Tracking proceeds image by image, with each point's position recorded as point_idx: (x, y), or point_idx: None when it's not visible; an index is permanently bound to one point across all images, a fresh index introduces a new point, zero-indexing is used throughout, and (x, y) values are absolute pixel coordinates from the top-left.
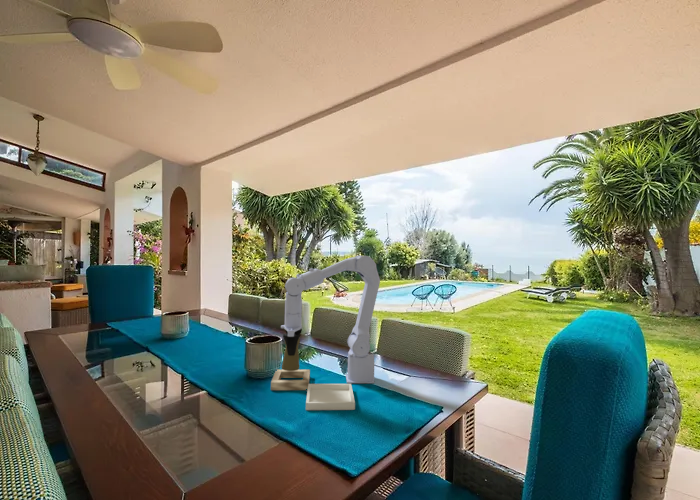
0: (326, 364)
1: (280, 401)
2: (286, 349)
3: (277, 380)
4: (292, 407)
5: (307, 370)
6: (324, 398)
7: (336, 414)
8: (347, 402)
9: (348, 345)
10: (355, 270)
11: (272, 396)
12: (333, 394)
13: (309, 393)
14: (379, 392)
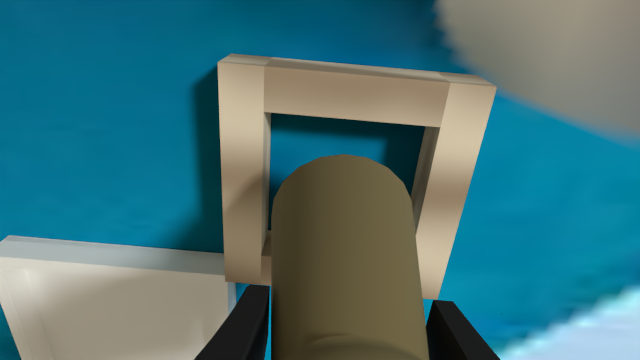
0: (598, 355)
1: (79, 121)
2: (301, 303)
3: (256, 107)
4: (23, 181)
5: (422, 286)
6: (121, 313)
7: (5, 332)
8: None
9: None
10: None
11: (139, 71)
12: (167, 347)
13: (99, 274)
14: None
